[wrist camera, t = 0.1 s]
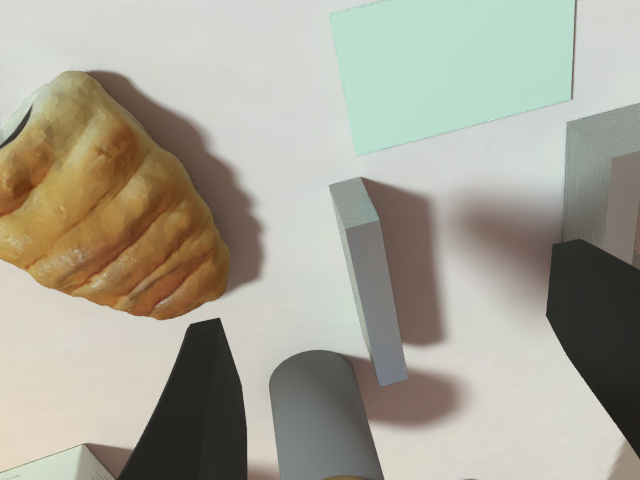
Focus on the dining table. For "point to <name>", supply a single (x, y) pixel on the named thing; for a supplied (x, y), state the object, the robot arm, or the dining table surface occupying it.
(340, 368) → the grey canister
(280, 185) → the dining table surface
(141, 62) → the dining table surface
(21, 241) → the pastry
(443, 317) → the dining table surface
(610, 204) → the metal brackets
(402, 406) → the dining table surface
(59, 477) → the small box
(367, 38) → the mat
